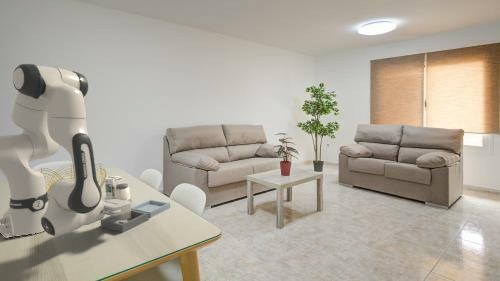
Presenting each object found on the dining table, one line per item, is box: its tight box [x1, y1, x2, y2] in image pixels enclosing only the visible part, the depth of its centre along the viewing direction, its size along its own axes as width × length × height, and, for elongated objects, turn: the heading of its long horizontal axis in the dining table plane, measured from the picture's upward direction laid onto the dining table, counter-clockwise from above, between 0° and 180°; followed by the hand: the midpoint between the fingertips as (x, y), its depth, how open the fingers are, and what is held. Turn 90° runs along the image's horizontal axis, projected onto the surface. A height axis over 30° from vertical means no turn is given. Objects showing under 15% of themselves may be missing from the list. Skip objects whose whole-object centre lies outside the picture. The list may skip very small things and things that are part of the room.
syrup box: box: [104, 175, 123, 197], centre depth 135 cm, size 6×6×14 cm
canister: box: [115, 183, 132, 221], centre depth 113 cm, size 6×6×14 cm
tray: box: [131, 199, 171, 218], centre depth 128 cm, size 13×13×2 cm
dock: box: [100, 210, 150, 234], centre depth 114 cm, size 13×13×3 cm
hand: (124, 198), depth 114 cm, fingers closed on canister, 6 cm apart
